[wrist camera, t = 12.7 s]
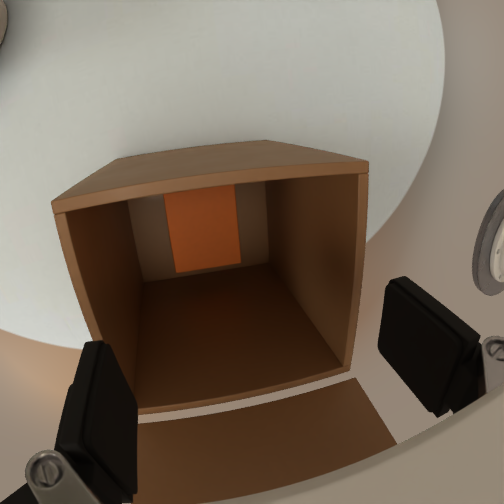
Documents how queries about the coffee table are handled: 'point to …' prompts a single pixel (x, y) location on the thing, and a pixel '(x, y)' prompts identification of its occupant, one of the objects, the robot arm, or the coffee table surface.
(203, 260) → the block
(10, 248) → the coffee table surface
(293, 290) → the carton
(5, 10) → the potted plant
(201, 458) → the carton flap
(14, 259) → the coffee table surface
